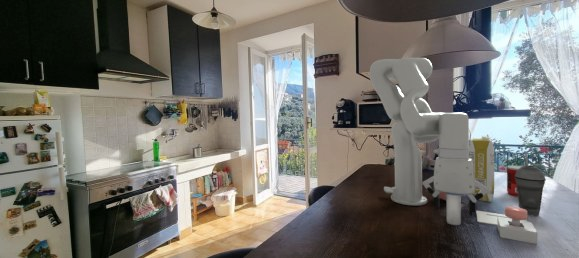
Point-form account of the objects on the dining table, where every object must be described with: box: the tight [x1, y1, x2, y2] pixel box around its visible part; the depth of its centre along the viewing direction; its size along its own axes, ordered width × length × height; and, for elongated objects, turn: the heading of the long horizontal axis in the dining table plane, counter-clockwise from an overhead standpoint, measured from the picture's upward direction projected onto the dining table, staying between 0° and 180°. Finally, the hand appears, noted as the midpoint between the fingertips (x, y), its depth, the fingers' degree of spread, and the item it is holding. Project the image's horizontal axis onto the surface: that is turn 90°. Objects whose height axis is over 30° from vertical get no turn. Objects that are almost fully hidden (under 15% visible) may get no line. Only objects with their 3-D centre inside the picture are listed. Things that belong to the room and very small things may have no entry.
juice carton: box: [469, 135, 495, 203], centre depth 96 cm, size 9×8×24 cm
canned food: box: [506, 165, 523, 198], centre depth 99 cm, size 8×8×11 cm
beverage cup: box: [515, 151, 547, 217], centre depth 81 cm, size 7×7×20 cm
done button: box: [504, 206, 528, 227], centre depth 67 cm, size 4×4×5 cm
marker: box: [445, 192, 462, 226], centre depth 76 cm, size 4×4×11 cm
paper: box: [475, 210, 527, 226], centre depth 77 cm, size 12×10×1 cm
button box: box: [496, 217, 538, 245], centre depth 67 cm, size 7×7×3 cm
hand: (453, 211), depth 76 cm, fingers open, 7 cm apart
